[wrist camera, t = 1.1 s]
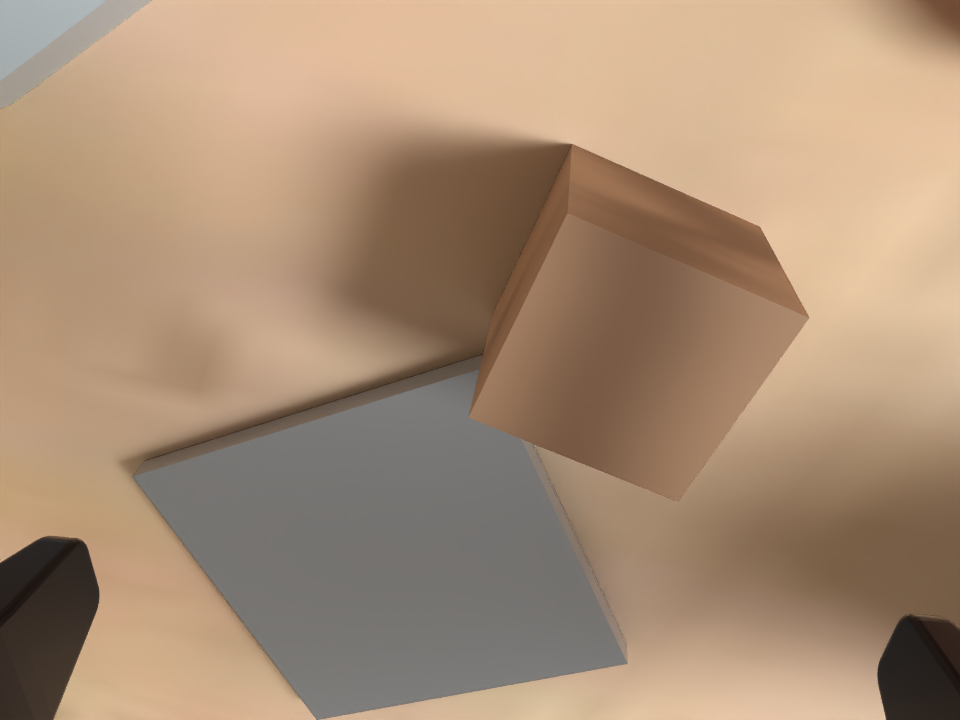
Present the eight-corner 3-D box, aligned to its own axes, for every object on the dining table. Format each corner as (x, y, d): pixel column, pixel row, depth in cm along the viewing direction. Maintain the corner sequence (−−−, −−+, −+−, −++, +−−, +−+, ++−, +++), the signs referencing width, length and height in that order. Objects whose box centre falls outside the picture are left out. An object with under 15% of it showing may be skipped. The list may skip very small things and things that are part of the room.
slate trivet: (626, 644, 27) (627, 663, 26) (322, 701, 30) (316, 719, 29) (490, 352, 22) (487, 366, 21) (144, 460, 25) (132, 476, 24)
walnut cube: (759, 225, 19) (809, 317, 15) (660, 383, 22) (678, 501, 17) (572, 143, 19) (567, 212, 14) (492, 314, 21) (467, 417, 17)
